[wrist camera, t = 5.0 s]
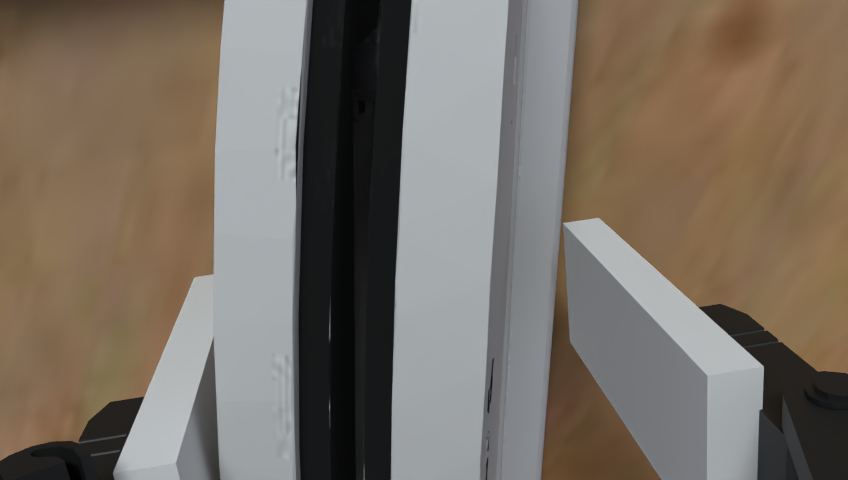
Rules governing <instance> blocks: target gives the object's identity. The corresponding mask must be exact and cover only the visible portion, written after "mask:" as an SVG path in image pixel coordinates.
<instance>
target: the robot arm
mask: <svg viewBox="0 0 848 480" xmlns="http://www.w3.org/2000/svg"><path fill="white" fill-rule="evenodd" d="M563 231H564V248H565V266H566V283H567V300H568V318H569V335H570V343H571V344H572V346H573V347H574V349H575V350H576V352H577V353H578V355H579V356H580V358H581V359H582V361H583V362H584V364H585V365H586V367H587V368H588V370H589V371H590V373H591V374H592V376H593V378H594V379H595V381H596V382H597V384H598V385H599V387H600V388H601V390H602V391H603V393H604V394H605V396H606V397H607V399H608V400H609V402H610V403H611V405H612V406H613V408H614V409H615V411H616V412H617V414H618V415H619V417H620V418H621V420H622V421H623V423H624V424H625V426H626V427H627V429H628V430H629V432H630V433H631V435H632V436H633V438H634V439H635V441H636V442H637V444H638V445H639V447H640V448H641V450H642V451H643V453H644V454H645V456H646V457H647V459H648V460H649V462H650V463H651V465H652V466H653V468H654V469H655V471H656V473H657V474H658V476H659V477H660V479H661V480H848V374H846V373H838V372H827V371H822V372H817V371H816V370H815V369H814V368H813V367H811V366H810V365H809V364H808V363H806V362H805V361H804V360H803V359H801V358H800V357H799V356H798V355H797V354H795V353H794V352H793V351H792V350H790V349H789V348H788V347H787V346H785V345H784V344H783V343H782V342H780V343H779V342H778V339H777V338H776V337H774V336H773V335H772V334H771V333H769V332H768V331H764V328H763V327H762V326H761V325H760V324H758V323H757V322H756V321H755V320H753V319H752V318H751V317H750V316H749V315H747V314H745V313H743V312H740V311H737V310H735V309H732V308H730V307H727V306H725V305H722V304H717V305H711V306H704V307H697V306H696V305H695V304H694V303H693V302H692V301H691V300H689V299H688V298H687V297H686V296H685V295H684V294H683V293H682V292H681V291H679V290H678V289H677V288H676V287H675V286H674V285H673V284H672V283H671V282H669V281H668V280H667V279H666V278H665V277H664V276H663V275H662V274H661V273H659V272H658V271H657V270H656V269H655V268H654V267H653V266H652V265H651V264H649V263H648V262H647V261H646V260H645V259H644V258H643V257H642V256H641V255H639V254H638V253H637V252H636V251H635V250H634V249H633V248H632V247H631V246H629V245H628V244H627V243H626V242H625V241H624V240H623V239H622V238H621V237H619V236H618V235H617V234H616V233H615V232H614V231H613V230H612V229H611V228H609V227H608V226H607V225H606V224H605V223H604V222H603V221H602V220H601V219H599V218H595V219H588V220H581V221H574V222H568V223H563ZM213 288H214V275H207V276H200V277H194V280H193V282H192V285H191V287H190V289H189V292H188V294H187V297H186V299H185V301H184V304H183V306H182V309H181V311H180V313H179V316H178V318H177V321H176V323H175V325H174V328H173V330H172V333H171V335H170V337H169V340H168V342H167V344H166V347H165V349H164V352H163V354H162V356H161V359H160V361H159V364H158V366H157V368H156V371H155V373H154V376H153V378H152V380H151V383H150V385H149V388H148V390H147V392H146V395H145V397H140V398H133V399H127V400H121V401H114V402H110V403H109V404H108V405H106V406H105V407H104V408H103V409H102V410H101V411H100V412H98V413H97V414H96V415H95V416H94V417H93V418H92V419H90V420H89V421H88V423H87V425H86V427H85V429H84V431H83V433H82V435H81V437H80V439H79V443H75V442H72V441H59V442H49V443H45V444H40V445H36V446H32V447H29V448H27V449H24V450H22V451H19V452H17V453H14V454H12V455H9V456H8V457H6V458H5V459H3V460H1V461H0V480H221V479H220V468H219V449H218V425H217V402H216V379H215V356H214V333H213Z"/></svg>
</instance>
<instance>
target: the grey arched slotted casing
mask: <svg viewBox="0 0 848 480" xmlns="http://www.w3.org/2000/svg"><path fill="white" fill-rule="evenodd" d="M578 1H579V0H225V2H224V14H223V26H222V38H221V50H220V69H219V88H218V107H217V126H216V144H215V203H214V288H213V333H214V356H215V379H216V402H217V425H218V449H219V468H220V479H221V480H541V472H542V460H543V447H544V434H545V421H546V409H547V396H548V383H549V370H550V358H551V345H552V332H553V319H554V307H555V294H556V281H557V268H558V256H559V243H560V230H561V217H562V205H563V192H564V179H565V166H566V154H567V141H568V128H569V115H570V103H571V90H572V77H573V64H574V52H575V39H576V26H577V13H578Z"/></svg>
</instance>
